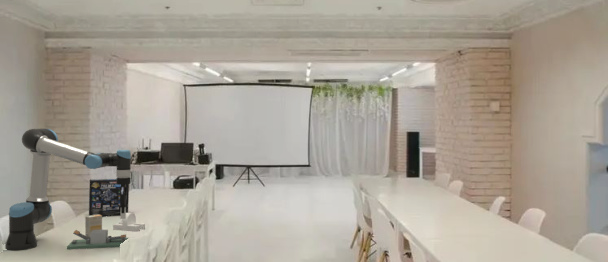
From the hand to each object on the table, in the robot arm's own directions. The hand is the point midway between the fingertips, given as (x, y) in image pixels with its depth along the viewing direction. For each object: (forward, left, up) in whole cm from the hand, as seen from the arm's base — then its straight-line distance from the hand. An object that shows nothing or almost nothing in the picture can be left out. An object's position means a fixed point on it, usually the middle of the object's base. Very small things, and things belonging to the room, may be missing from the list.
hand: (123, 218), depth 281 cm
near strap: (-22, 0, -10) cm, 24 cm away
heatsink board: (-13, 0, -14) cm, 19 cm away
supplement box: (-19, +19, -14) cm, 30 cm away
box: (-20, +89, -15) cm, 92 cm away
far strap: (-3, 0, -12) cm, 12 cm away
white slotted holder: (-1, +39, -15) cm, 42 cm away
